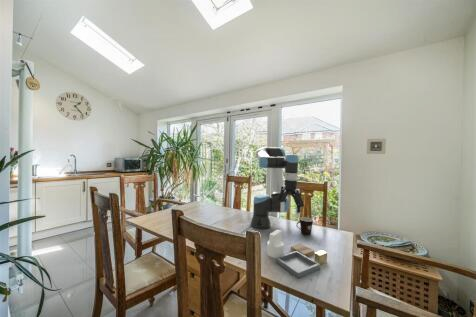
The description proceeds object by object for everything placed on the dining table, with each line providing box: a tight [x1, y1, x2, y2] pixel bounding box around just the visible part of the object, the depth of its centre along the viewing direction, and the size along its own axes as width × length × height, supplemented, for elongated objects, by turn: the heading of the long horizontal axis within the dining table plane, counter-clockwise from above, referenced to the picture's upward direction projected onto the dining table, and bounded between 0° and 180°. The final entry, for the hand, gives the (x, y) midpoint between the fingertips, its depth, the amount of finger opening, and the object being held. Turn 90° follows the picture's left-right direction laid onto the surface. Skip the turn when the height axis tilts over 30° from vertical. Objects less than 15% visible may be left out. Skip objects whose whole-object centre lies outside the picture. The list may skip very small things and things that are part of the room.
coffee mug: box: [296, 217, 314, 236], centre depth 142 cm, size 12×9×10 cm
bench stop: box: [314, 249, 328, 266], centre depth 105 cm, size 3×6×5 cm, turn 121°
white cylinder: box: [266, 229, 285, 259], centre depth 112 cm, size 9×9×12 cm
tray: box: [274, 251, 321, 279], centre depth 101 cm, size 15×15×3 cm
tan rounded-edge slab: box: [290, 243, 315, 258], centre depth 115 cm, size 10×8×2 cm
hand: (289, 214), depth 124 cm, fingers open, 12 cm apart
